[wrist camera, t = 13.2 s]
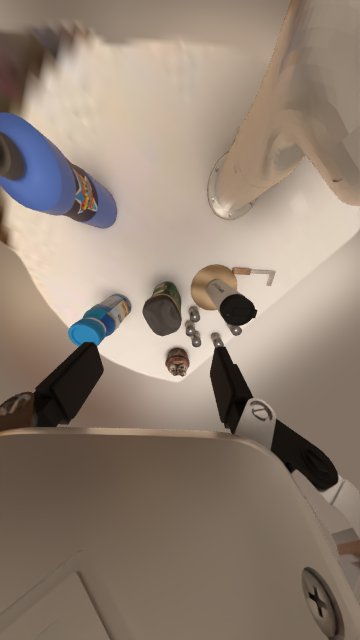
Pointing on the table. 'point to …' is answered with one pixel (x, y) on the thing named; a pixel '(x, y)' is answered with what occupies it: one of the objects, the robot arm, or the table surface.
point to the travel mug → (230, 303)
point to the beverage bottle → (100, 320)
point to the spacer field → (195, 334)
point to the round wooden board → (203, 280)
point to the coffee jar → (163, 309)
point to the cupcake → (177, 362)
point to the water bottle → (49, 177)
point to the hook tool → (248, 271)
